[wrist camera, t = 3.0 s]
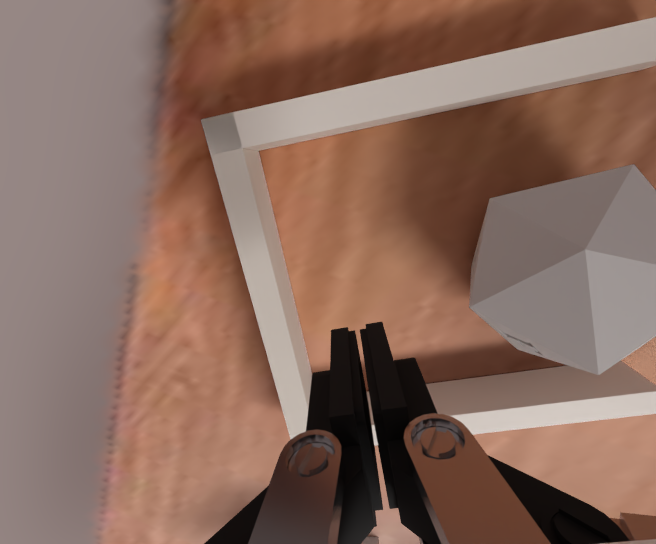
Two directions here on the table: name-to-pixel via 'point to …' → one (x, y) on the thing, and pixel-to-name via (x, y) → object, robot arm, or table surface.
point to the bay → (392, 106)
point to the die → (571, 268)
